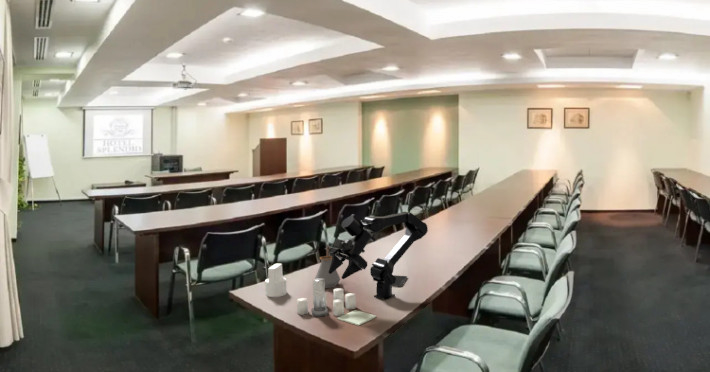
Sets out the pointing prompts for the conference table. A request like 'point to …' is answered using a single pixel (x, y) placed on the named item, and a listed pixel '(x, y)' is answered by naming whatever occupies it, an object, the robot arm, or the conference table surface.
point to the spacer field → (337, 303)
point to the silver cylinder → (319, 298)
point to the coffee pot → (323, 270)
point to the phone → (399, 280)
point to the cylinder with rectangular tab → (275, 282)
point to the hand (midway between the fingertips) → (335, 275)
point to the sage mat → (356, 317)
